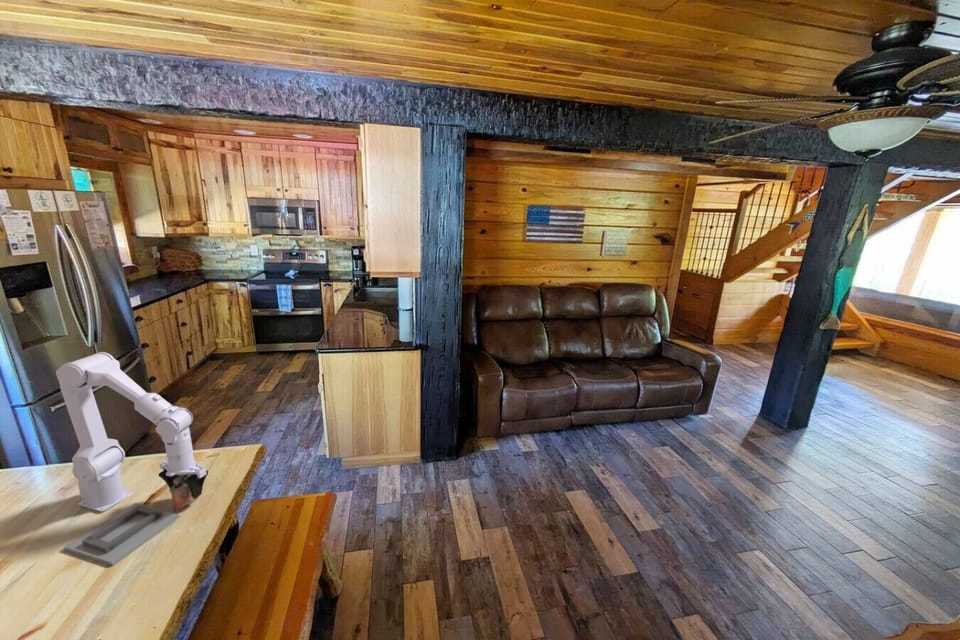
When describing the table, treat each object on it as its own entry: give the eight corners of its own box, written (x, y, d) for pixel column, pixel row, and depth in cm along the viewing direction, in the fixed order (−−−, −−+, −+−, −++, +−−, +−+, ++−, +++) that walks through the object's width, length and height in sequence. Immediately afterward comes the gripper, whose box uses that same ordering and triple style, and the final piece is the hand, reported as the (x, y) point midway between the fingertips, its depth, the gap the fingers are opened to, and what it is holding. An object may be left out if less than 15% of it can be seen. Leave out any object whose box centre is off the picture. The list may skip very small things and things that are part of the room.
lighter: (180, 514, 106) (174, 483, 104) (170, 512, 107) (164, 481, 105) (205, 495, 114) (201, 466, 112) (196, 493, 115) (191, 464, 112)
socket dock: (64, 550, 94) (62, 541, 93) (136, 505, 109) (134, 498, 108) (112, 566, 90) (110, 557, 90) (179, 517, 105) (178, 510, 105)
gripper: (144, 455, 104) (153, 497, 108) (186, 464, 101) (193, 508, 104) (170, 441, 111) (177, 481, 114) (210, 450, 108) (216, 491, 111)
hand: (187, 493), depth 110 cm, fingers open, 7 cm apart
